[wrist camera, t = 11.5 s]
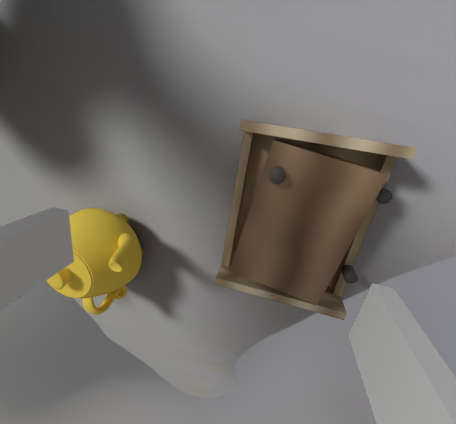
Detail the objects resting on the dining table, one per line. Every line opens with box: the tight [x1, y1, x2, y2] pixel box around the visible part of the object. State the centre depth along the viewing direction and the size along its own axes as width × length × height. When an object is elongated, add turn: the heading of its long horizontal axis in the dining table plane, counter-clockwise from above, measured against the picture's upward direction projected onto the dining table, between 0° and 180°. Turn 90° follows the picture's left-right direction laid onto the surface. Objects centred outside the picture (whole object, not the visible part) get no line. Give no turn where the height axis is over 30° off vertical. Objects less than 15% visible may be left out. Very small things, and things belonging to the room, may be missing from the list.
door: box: [229, 138, 389, 305], centre depth 27 cm, size 11×16×6 cm
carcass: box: [215, 120, 417, 320], centre depth 28 cm, size 16×20×6 cm
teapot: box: [47, 208, 143, 314], centre depth 34 cm, size 20×15×12 cm
